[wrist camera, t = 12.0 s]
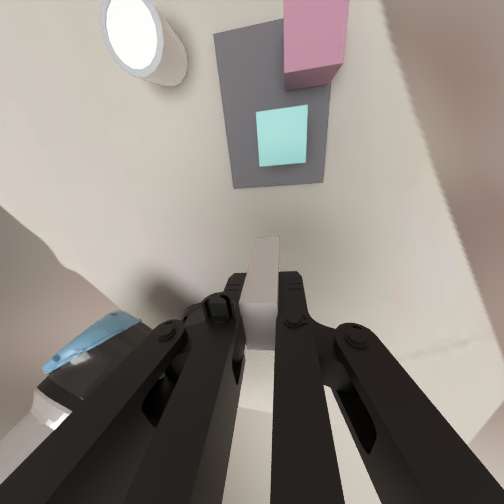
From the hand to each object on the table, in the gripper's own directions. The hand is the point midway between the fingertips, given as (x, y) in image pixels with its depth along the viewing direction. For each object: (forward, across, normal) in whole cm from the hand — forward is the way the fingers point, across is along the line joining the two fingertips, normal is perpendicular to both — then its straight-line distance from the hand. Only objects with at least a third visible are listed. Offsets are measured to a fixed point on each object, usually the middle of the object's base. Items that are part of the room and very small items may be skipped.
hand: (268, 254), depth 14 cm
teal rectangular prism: (+19, +2, +8) cm, 20 cm away
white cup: (+21, -13, +19) cm, 31 cm away
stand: (+21, 0, +11) cm, 23 cm away
